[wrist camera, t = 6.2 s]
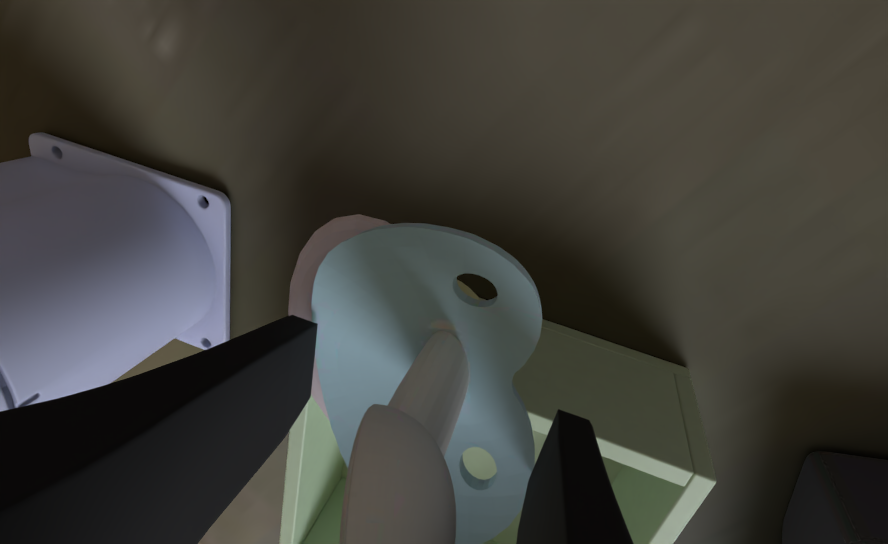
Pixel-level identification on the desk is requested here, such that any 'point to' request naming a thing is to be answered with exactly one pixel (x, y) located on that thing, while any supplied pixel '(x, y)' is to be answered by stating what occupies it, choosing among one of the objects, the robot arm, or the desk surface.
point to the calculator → (838, 501)
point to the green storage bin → (544, 392)
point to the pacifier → (419, 376)
